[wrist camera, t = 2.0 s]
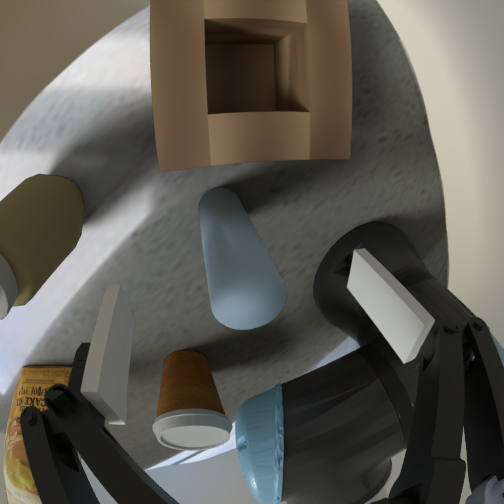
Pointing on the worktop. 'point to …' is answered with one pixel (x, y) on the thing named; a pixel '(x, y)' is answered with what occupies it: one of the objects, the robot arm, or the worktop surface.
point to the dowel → (237, 264)
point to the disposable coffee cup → (190, 405)
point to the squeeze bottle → (36, 235)
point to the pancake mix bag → (14, 458)
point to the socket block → (250, 81)
